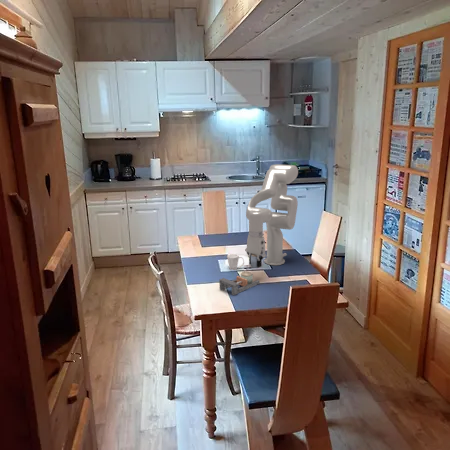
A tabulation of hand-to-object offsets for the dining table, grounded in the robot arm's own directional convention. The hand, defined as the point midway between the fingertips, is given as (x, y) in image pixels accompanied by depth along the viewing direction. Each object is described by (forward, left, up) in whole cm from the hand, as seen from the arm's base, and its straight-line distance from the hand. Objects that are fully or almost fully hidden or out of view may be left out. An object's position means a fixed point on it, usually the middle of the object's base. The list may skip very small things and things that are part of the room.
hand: (255, 265), depth 230 cm
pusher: (+15, 0, -9) cm, 17 cm away
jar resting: (+7, 0, -9) cm, 11 cm away
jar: (0, 0, -1) cm, 1 cm away
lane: (+12, 0, -9) cm, 15 cm away
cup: (-5, -20, -9) cm, 23 cm away
